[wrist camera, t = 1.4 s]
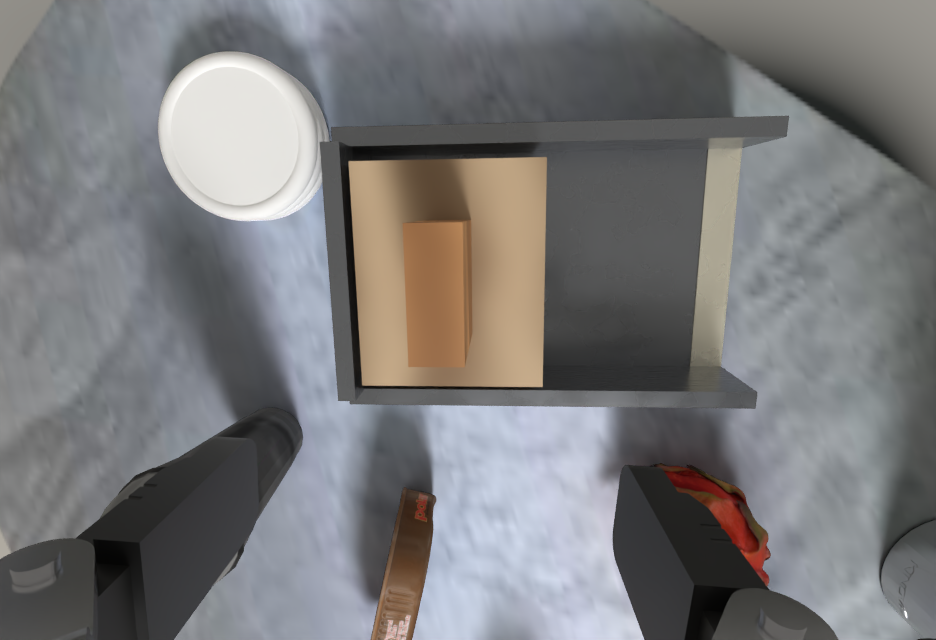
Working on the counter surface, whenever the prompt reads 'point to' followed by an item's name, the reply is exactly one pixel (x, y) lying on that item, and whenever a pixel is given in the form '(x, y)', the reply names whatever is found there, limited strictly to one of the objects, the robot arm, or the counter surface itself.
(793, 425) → the counter surface
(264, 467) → the beverage cup
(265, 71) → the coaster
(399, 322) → the wooden block with upright
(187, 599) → the robot arm
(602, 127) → the bay
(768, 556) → the dragon fruit
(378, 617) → the tin
